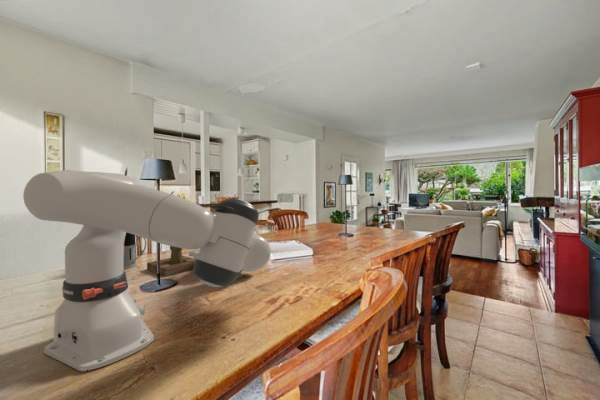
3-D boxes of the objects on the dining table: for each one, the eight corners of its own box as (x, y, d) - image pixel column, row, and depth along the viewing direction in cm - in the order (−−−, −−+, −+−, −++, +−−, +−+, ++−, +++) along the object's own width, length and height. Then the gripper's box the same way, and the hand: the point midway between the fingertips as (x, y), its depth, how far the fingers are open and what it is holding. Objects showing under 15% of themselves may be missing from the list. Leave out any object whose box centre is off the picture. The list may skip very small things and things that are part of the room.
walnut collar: (201, 267, 120) (201, 260, 120) (166, 276, 107) (166, 269, 106) (181, 261, 129) (181, 255, 129) (147, 269, 116) (147, 262, 116)
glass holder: (124, 263, 125) (123, 231, 124) (152, 264, 124) (152, 232, 123) (109, 268, 116) (108, 234, 116) (139, 270, 115) (139, 235, 114)
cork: (186, 267, 119) (186, 243, 118) (172, 270, 114) (172, 245, 114) (180, 265, 123) (180, 241, 123) (166, 267, 119) (166, 243, 118)
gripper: (214, 266, 104) (181, 265, 106) (235, 254, 124) (207, 252, 126) (214, 250, 103) (181, 249, 106) (235, 240, 123) (207, 239, 126)
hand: (196, 251), depth 116 cm, fingers open, 8 cm apart
